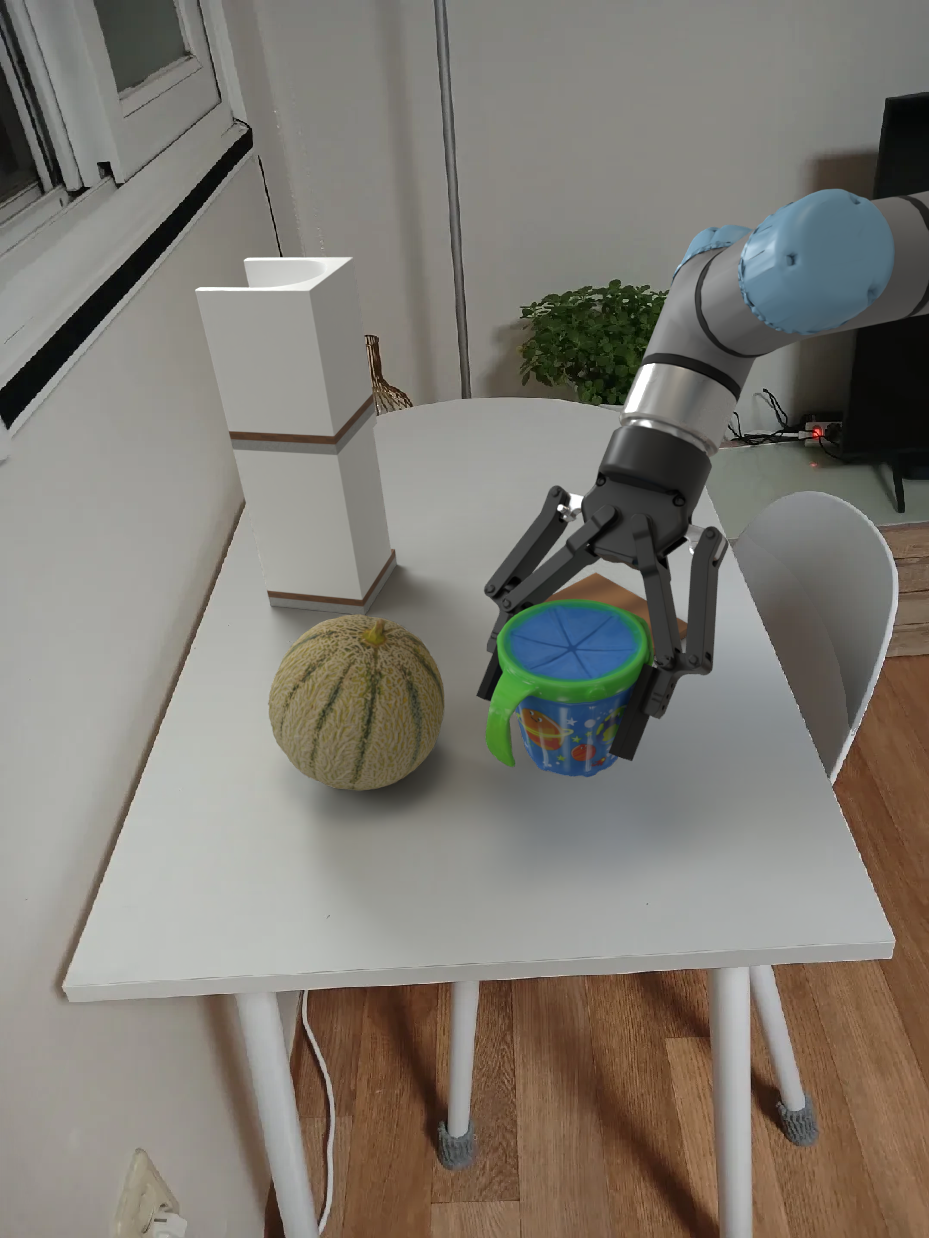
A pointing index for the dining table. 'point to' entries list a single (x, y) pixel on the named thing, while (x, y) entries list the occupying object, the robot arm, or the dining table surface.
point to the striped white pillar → (303, 429)
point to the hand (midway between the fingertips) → (551, 727)
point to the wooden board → (611, 598)
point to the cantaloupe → (357, 702)
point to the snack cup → (566, 683)
